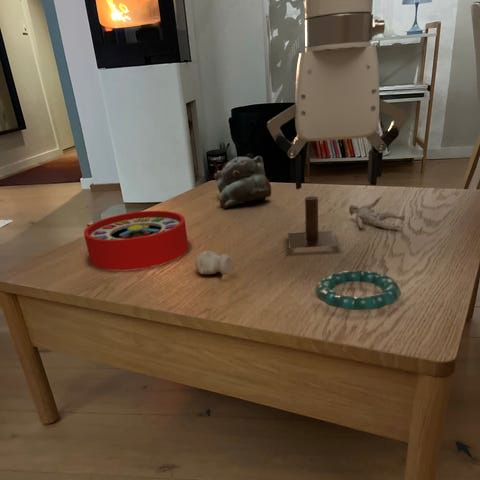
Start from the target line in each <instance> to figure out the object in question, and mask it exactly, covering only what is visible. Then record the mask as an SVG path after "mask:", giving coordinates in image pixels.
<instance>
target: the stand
mask: <svg viewBox="0 0 480 480" xmlns="http://www.w3.org/2000/svg"><path fill="white" fill-rule="evenodd" d="M304 209H305V210H304V211H305V212H304V213H305V214H304V216H305V217H304V218H305V232H303V231H302V232H288V233H287V236H288V238H287V240H288V248H289V249H300V248H318V247H319V248H320V247H337V246H338V242H337V239H336V237H335V234H334V231H333V230H322V231H319V197H317V196H307V197H305V198H304Z"/></svg>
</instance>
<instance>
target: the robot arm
mask: <svg viewBox="0 0 480 480" xmlns="http://www.w3.org/2000/svg"><path fill="white" fill-rule="evenodd" d="M373 1H374V0H304V20H305V21H304V25H305V26H304V39H305V41H304V42H305V43H304V44H305V45H304V50H305V51H304V52H299V54H298V58H297V63H296V64H297V65H296V73H295V74H296V75H295V96H294V104H293V105H291V106H289V107H288V108H287V109H285V110H284V111H282V112H280V113H279V114H277V115H275V116H274V117H272V118H271V119H269V120H268V121H267V123H266V127H267V130H268V131H269V133H270V135H271V136H272V138H273V140H274V142H275V144H276V145H277V146H278V147H279V149H281V150H282V151H283V153H285V154H286V155H287V156H288V157H289V168H290V169H289V172H290V182H291V183H292V182H293V183H295V190H301V189H302V155H300V151H301V150H302V149H303V148H304V147H305V145H306V143H308V142H323V141H338V140H340V141H341V140H355V139H364V138H365V139H366V140H367V141H368V142H369V144H370V145H371V149H370V150H369V151H368V161H367V181H368V183H369V185H371V186H377V181H378V178H382V174H383V173H382V172H383V156H384V152H386V150H387V148H389V146H390V145H391V144H392V143H393V142H394V141H395V140H396V139H397V138H398V137H399V135H400V132H401V130H402V129H403V127H404V125H405V124H406V122H407V120H408V118H409V113H408V112H407V111H406V110H404V109H401V108H399V107H398V106H396V105H394V104H391V103H390V102H387V101H385V100H383V99H381V98H380V71H379V60H378V52H377V46H376V45H373V46H371V45H372V44H371V41H373V38H374V37H375V36H377V35H382V34H384V33H385V26H386V22H385V20H384V19H382V20H381V19H380V20H379V19H378V18H375V17H374V13H373V4H374V3H373ZM380 112H381V113H382V114H384V115H386V116H389V117H391V119H392V121H391V123H390V126H389V128H387V129H386V130H385V132H383V134H382V135H379V134H378V133H377V131H378V128H379V125H380V124H379V122H380ZM293 119H294V127H295V132H296V137H294V139H293V140H292V141H290V140H289V139H288V138H287V137H285V135H284V134H283V132H282V129H281V127H282V126H283V125H284V124H286V123H288V122H290V121H291V120H293Z"/></svg>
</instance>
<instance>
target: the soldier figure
mask: <svg viewBox="0 0 480 480" xmlns="http://www.w3.org/2000/svg"><path fill="white" fill-rule="evenodd" d="M381 199H383V197H382V196H379V197H377V198H376V199H375V200H374V201H372V202H371V203H368V204H363V205H362V206H361V207H358V206H357V205H354V204H350V205H349V208H348V211H349V214H350V215H351V216H353V215H354V214H355V220H356V223H357V225H358V226H357V227H358V228H360V229H361V230H363V227H364V224H363V221H364V222H365V223H369V224H370V225H371V226H375V227H380V228H383V229H392V230H393V229H394V230H395V231H398V230H399V229H400V228H399V225H396V224H395V225H393V224H390V223H388V222H387V221H385V220H387V219H396V220H397V219H398V220H401V221H402V222H405V220H406V218H405V216H406V215H404V214H402V215H399V214H397V213H394V212H393V211H385V212H382V213H379V212H377V211H376V210H375V209H372V208H375V207H376V206H377V204H378V203H379V202H380V201H381Z"/></svg>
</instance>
